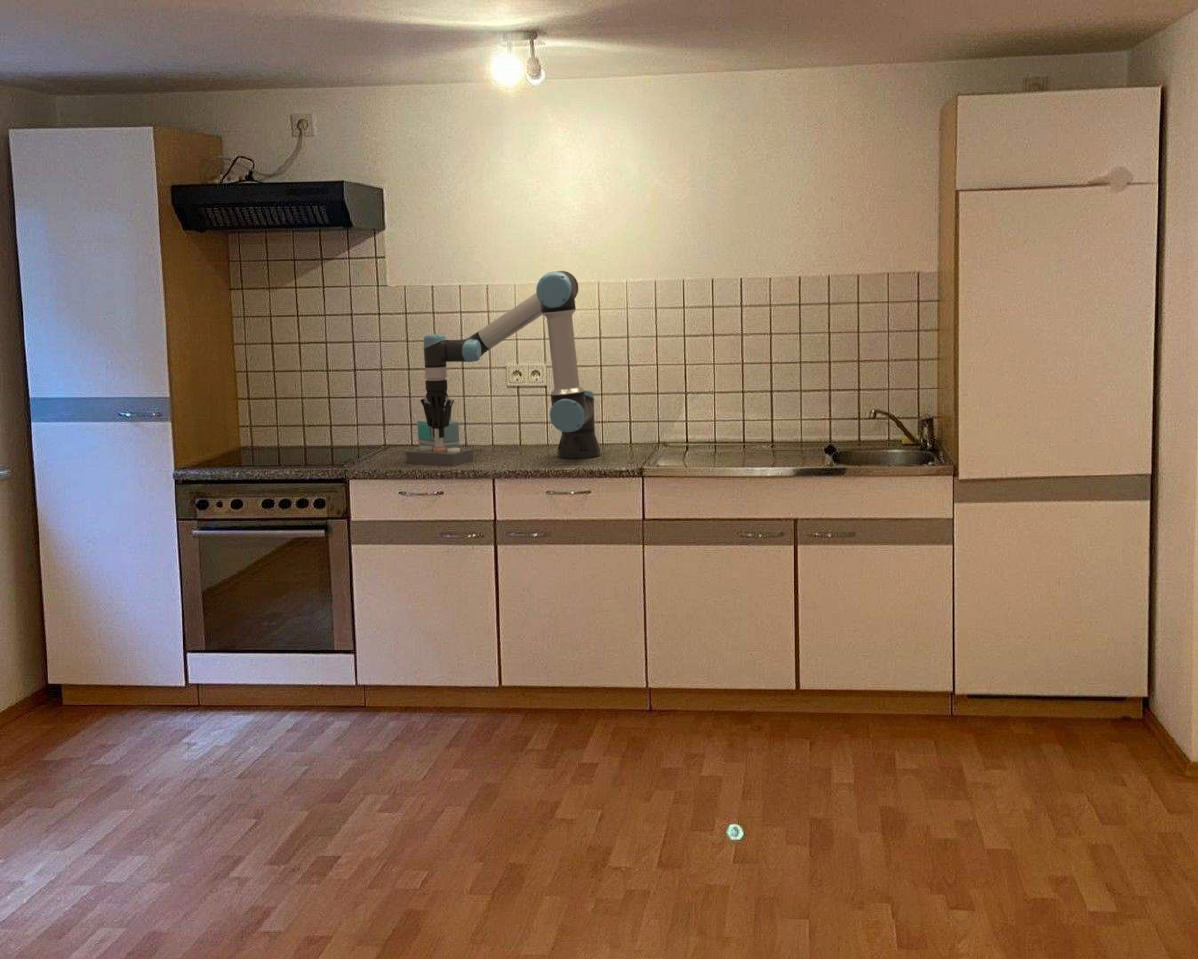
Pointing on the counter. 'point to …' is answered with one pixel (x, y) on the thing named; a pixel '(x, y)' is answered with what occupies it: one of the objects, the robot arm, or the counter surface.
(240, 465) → the counter surface
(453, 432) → the radio
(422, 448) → the button sage
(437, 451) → the button terracotta
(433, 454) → the grey piece
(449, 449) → the button ivory
